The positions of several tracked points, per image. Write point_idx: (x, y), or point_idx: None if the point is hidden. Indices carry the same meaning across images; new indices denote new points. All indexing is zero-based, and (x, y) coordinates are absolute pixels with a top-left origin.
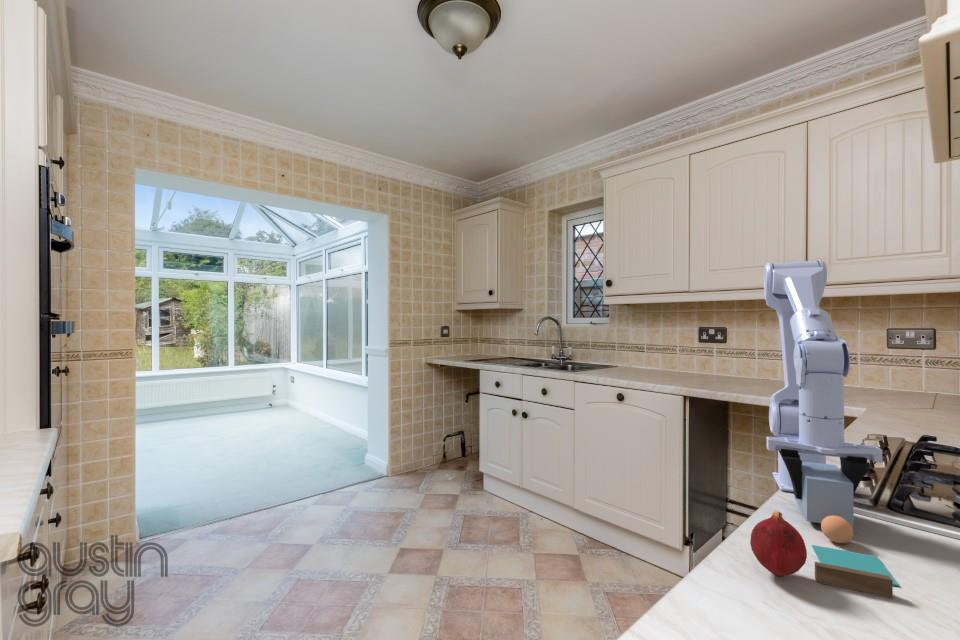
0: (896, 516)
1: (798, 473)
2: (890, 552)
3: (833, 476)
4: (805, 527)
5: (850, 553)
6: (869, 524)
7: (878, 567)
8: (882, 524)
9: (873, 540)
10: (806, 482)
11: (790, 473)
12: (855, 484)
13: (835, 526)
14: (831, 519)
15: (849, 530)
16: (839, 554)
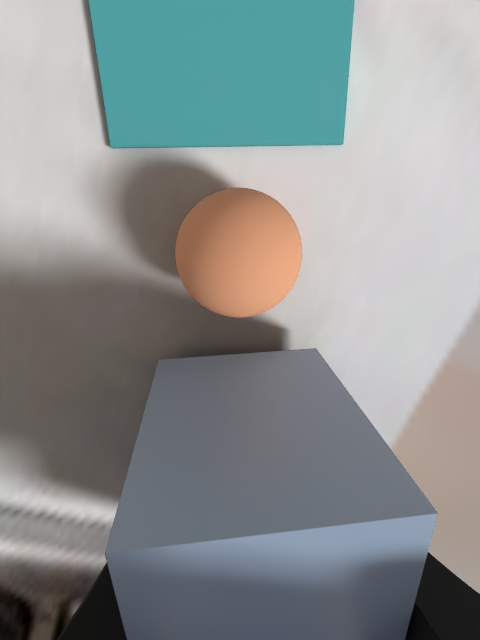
0: (11, 561)
1: (426, 593)
2: (55, 241)
3: (224, 629)
4: (314, 332)
5: (208, 126)
6: (97, 463)
7: (120, 3)
8: (57, 482)
9: (102, 330)
10: (410, 487)
11: (462, 581)
12: (93, 608)
13: (261, 199)
14: (275, 238)
15: (197, 210)
16: (256, 83)
